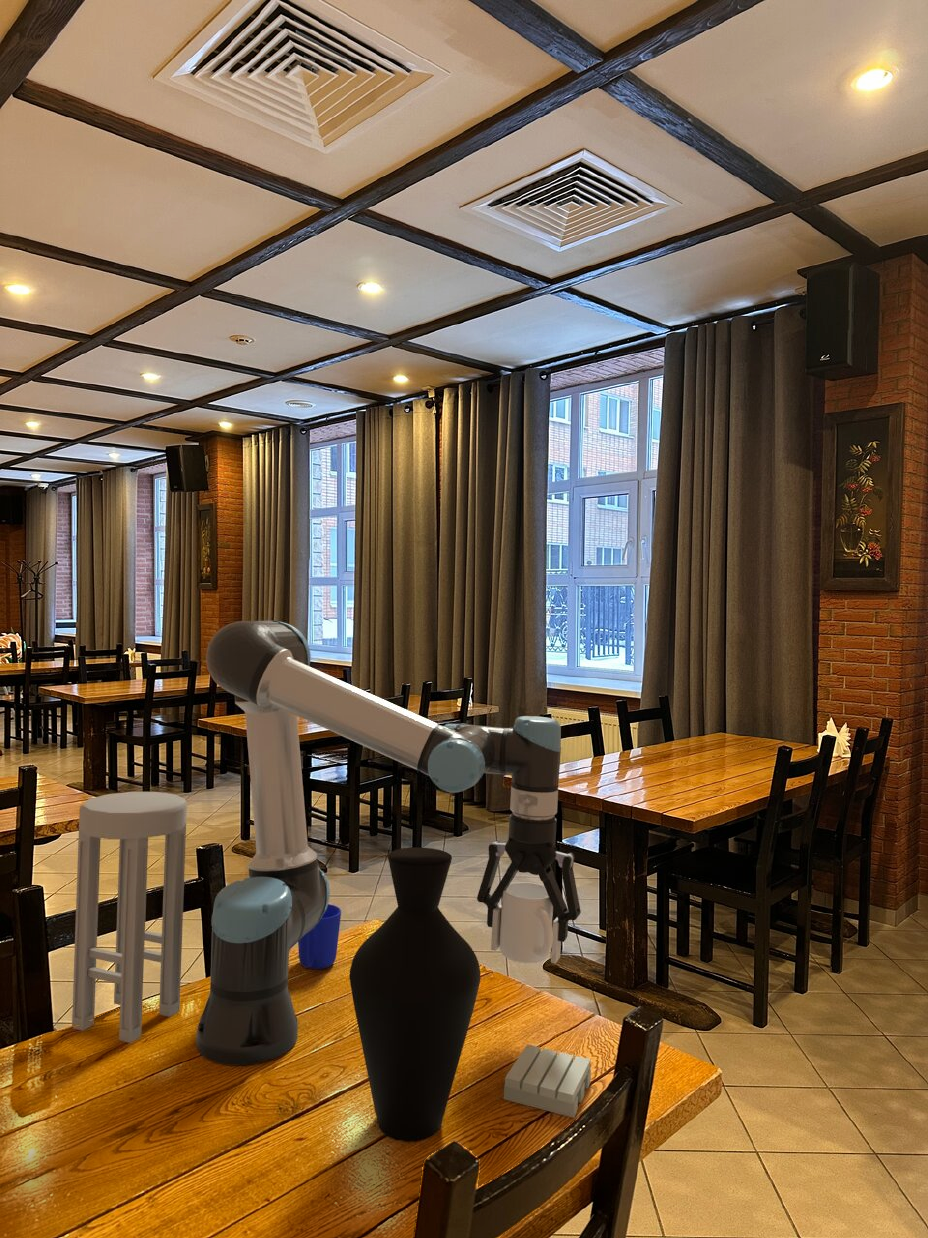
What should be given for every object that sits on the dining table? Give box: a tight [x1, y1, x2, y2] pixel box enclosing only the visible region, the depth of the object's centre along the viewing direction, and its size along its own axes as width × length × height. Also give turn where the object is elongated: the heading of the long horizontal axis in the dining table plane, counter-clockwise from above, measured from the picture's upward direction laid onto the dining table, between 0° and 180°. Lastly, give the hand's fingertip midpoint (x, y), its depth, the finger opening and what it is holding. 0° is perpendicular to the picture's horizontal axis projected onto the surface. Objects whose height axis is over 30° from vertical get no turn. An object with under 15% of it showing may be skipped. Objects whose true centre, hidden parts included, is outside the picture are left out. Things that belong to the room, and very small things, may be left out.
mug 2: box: [499, 881, 554, 964], centre depth 135 cm, size 12×8×10 cm
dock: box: [503, 1044, 592, 1119], centre depth 120 cm, size 10×10×3 cm
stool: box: [71, 791, 188, 1044], centre depth 135 cm, size 16×16×35 cm
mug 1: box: [297, 903, 342, 970], centre depth 157 cm, size 8×12×10 cm
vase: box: [348, 847, 482, 1143], centre depth 111 cm, size 17×17×35 cm
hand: (525, 953), depth 136 cm, fingers closed on mug 2, 9 cm apart
